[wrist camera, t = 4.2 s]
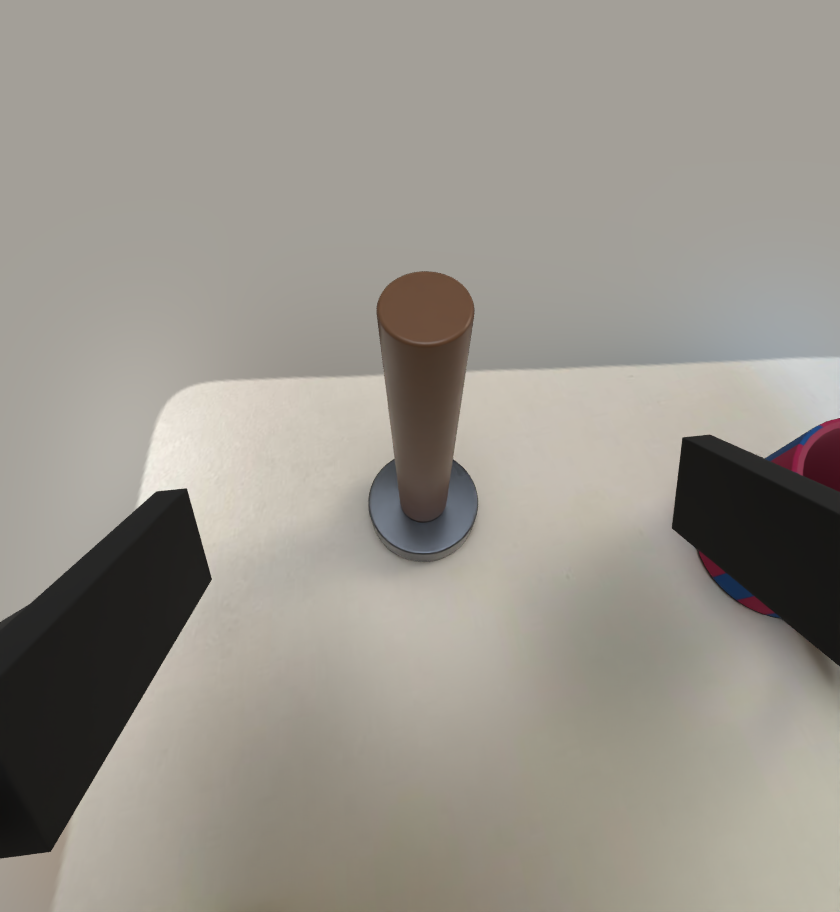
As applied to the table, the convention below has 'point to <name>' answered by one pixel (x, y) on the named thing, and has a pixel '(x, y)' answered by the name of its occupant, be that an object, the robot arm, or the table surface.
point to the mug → (811, 455)
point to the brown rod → (424, 417)
